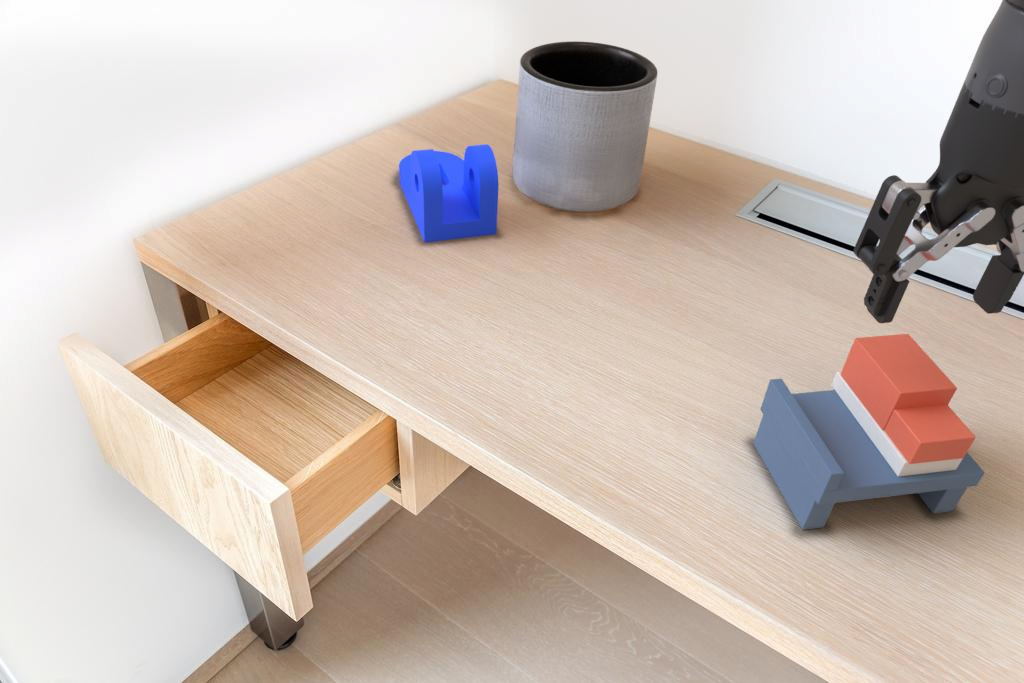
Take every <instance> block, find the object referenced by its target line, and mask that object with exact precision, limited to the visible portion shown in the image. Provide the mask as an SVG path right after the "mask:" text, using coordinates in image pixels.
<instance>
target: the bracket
mask: <svg viewBox="0 0 1024 683" xmlns="http://www.w3.org/2000/svg"><path fill="white" fill-rule="evenodd" d="M463 155H464V157H463V158H461V157H460V156H458V155H456V154H453V153H452V152H451V153H450V152H446V151H442V150H441V151H440V150H434V149H433V148H429V149H417V150H412V151H411V152H410V154H408V155H406V156H404V157H403V158H402V159H401V160H400V161H399V163H398V177H399V178H398V179H399V180H398V181H399V185H400V187H401V190H402V193H403V195H404V197H405V199H406V202H407V204H408V206H409V209H410V211H411V214H412V216H413V219H414V221H415V223H416V226H417V228H418V230H419V233H420V236H421V237H422V240H423V243H433V242H441V241H449V240H458V239H468V238H476V237H484V236H492V235H497V230H498V228H497V227H498V208H499V206H498V205H499V172H498V165H497V161H496V157H495V154H494V150H493V149H492V147H491V146H490V145H489V144H477V145H476V144H475V145H468V146H466V148H465V150H464V154H463Z"/></svg>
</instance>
